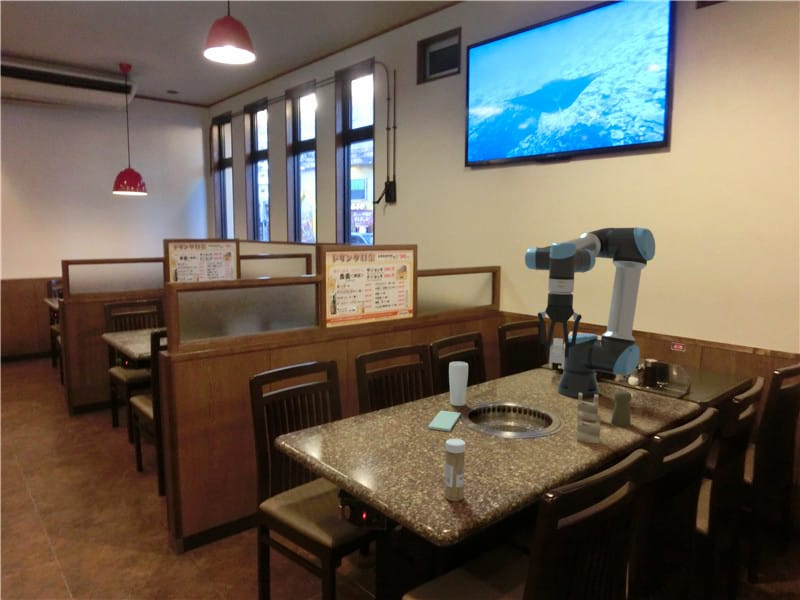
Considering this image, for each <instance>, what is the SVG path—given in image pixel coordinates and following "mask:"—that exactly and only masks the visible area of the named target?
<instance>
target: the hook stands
mask: <svg viewBox="0 0 800 600" xmlns="http://www.w3.org/2000/svg"><path fill="white" fill-rule="evenodd" d="M577 399H578V401H577V416H576V417H577V433H576V442H580V443H581V442H582V443H588V442H589V444H595V443H597V444H596V445H599V444H600V437H601V435H600V434H601V419H602V418H601V417H602V416H601V414H600V413H599V412H598V411H599V410H598V409H599V395H595V394H594V398H593V402H588V401H583V398H582V393H579V396H578V398H577ZM598 413H599V414H598ZM587 419H588V421H595V420H596V421H595V423H593V422H584V421H583V420H587Z"/></svg>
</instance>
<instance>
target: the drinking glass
mask: <svg viewBox="0 0 800 600" xmlns="http://www.w3.org/2000/svg"><path fill="white" fill-rule="evenodd" d="M448 378H449V379H448V382H449V397H450V399H449V403H450V405H451V406H453V407H463V406H465V404H466V396H467V387H468V386H467V385H468V378H469V364H468V362H465V361H451V362H449V365H448Z"/></svg>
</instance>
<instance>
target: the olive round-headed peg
mask: <svg viewBox="0 0 800 600" xmlns="http://www.w3.org/2000/svg"><path fill="white" fill-rule="evenodd" d="M613 398H614V400H615V404H614V407H613V411H612V412H613V413H612V415H611V420H610V424H611V425H612V424H613V425H612V426H614V425H615V427H619V428H630V427H631V426H632V421H631V408H630V402H631V401H632V394H631V392H630V391H627V390H616V391H615V392H614V395H613Z"/></svg>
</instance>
